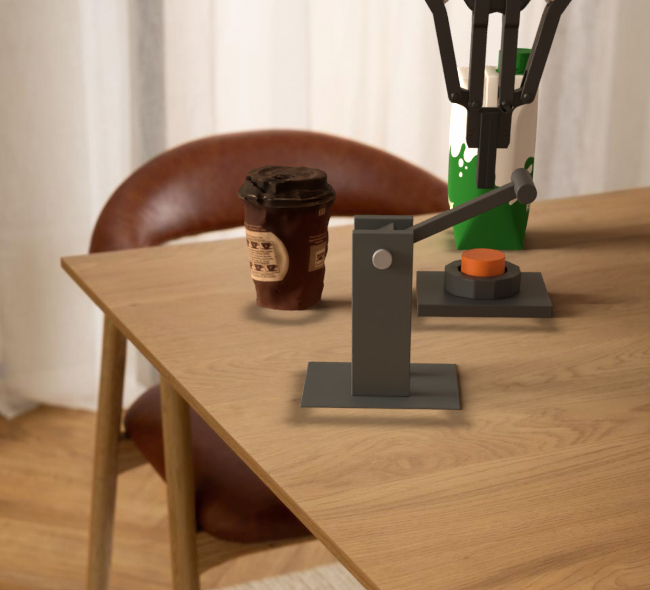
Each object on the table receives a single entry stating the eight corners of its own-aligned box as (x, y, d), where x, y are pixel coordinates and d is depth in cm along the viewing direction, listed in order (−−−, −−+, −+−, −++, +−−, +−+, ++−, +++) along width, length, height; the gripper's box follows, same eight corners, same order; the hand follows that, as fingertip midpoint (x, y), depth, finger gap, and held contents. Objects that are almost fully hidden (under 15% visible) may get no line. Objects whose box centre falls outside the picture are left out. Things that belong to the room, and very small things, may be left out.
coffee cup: (271, 333, 106) (267, 187, 100) (225, 307, 112) (219, 169, 106) (351, 314, 110) (352, 173, 104) (303, 291, 116) (301, 157, 110)
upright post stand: (455, 377, 96) (463, 208, 90) (459, 423, 88) (468, 242, 82) (308, 374, 97) (305, 207, 91) (300, 420, 89) (296, 240, 83)
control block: (539, 293, 115) (542, 253, 113) (550, 329, 106) (554, 286, 104) (415, 292, 116) (416, 252, 114) (416, 327, 107) (418, 285, 105)
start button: (502, 266, 111) (503, 248, 110) (505, 279, 107) (507, 261, 106) (459, 266, 111) (460, 248, 110) (461, 279, 108) (462, 260, 107)
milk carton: (532, 253, 127) (547, 56, 118) (447, 252, 127) (456, 56, 118) (523, 230, 135) (536, 44, 125) (443, 230, 135) (451, 45, 126)
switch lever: (535, 188, 87) (523, 158, 86) (542, 205, 83) (530, 174, 82) (373, 260, 90) (360, 232, 89) (371, 280, 86) (357, 251, 85)
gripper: (422, -111, 91) (411, 194, 103) (592, -110, 91) (563, 197, 102) (421, -113, 98) (411, 174, 109) (579, -112, 97) (553, 176, 109)
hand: (484, 184), depth 106 cm, fingers closed
